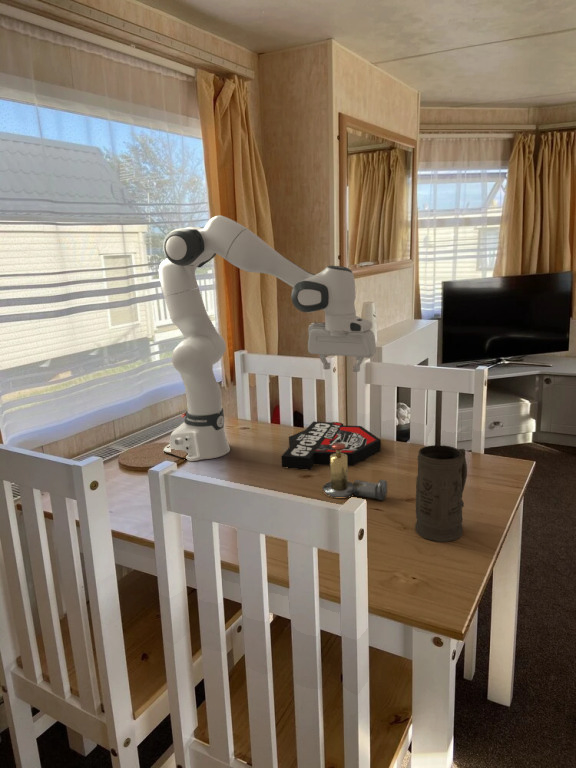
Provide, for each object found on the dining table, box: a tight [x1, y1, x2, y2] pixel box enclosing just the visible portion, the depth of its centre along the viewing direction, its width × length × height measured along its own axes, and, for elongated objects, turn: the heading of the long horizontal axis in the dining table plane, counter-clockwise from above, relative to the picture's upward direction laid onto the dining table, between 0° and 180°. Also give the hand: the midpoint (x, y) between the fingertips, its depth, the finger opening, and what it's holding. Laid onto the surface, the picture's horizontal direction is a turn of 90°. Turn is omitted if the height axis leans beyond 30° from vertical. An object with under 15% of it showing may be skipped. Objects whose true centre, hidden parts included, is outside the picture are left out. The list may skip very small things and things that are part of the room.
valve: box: [329, 443, 349, 491], centre depth 155 cm, size 5×5×12 cm
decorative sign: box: [280, 421, 382, 471], centre depth 186 cm, size 34×4×30 cm
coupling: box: [322, 479, 388, 501], centre depth 154 cm, size 17×9×5 cm, turn 61°
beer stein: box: [414, 444, 468, 543], centre depth 133 cm, size 15×11×20 cm
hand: (341, 370), depth 169 cm, fingers open, 8 cm apart
